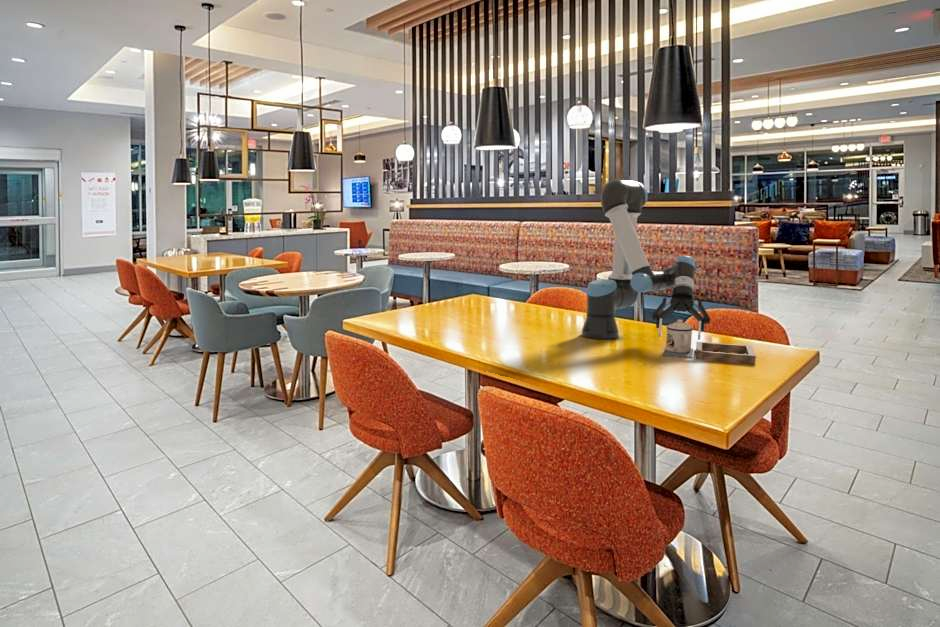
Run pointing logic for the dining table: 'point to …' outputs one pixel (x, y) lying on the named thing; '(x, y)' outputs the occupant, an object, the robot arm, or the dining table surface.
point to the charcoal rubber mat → (678, 354)
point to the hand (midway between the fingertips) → (679, 336)
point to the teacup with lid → (679, 337)
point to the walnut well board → (706, 347)
